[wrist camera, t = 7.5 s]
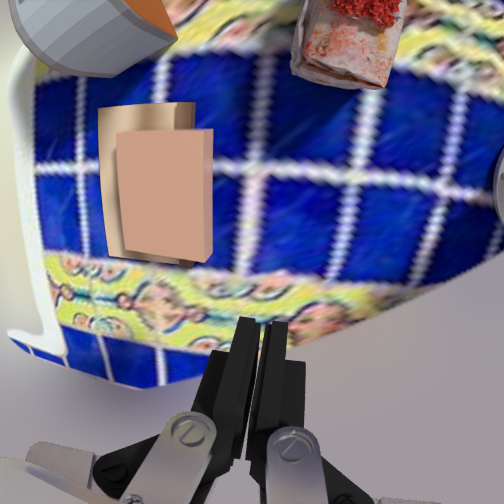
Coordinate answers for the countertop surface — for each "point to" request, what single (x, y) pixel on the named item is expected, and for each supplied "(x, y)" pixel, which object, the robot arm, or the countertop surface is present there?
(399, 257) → the countertop surface
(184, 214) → the tile
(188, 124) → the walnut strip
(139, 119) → the tan flat rectangular panel
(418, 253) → the countertop surface
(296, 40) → the food item
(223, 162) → the countertop surface
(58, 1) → the alarm clock
